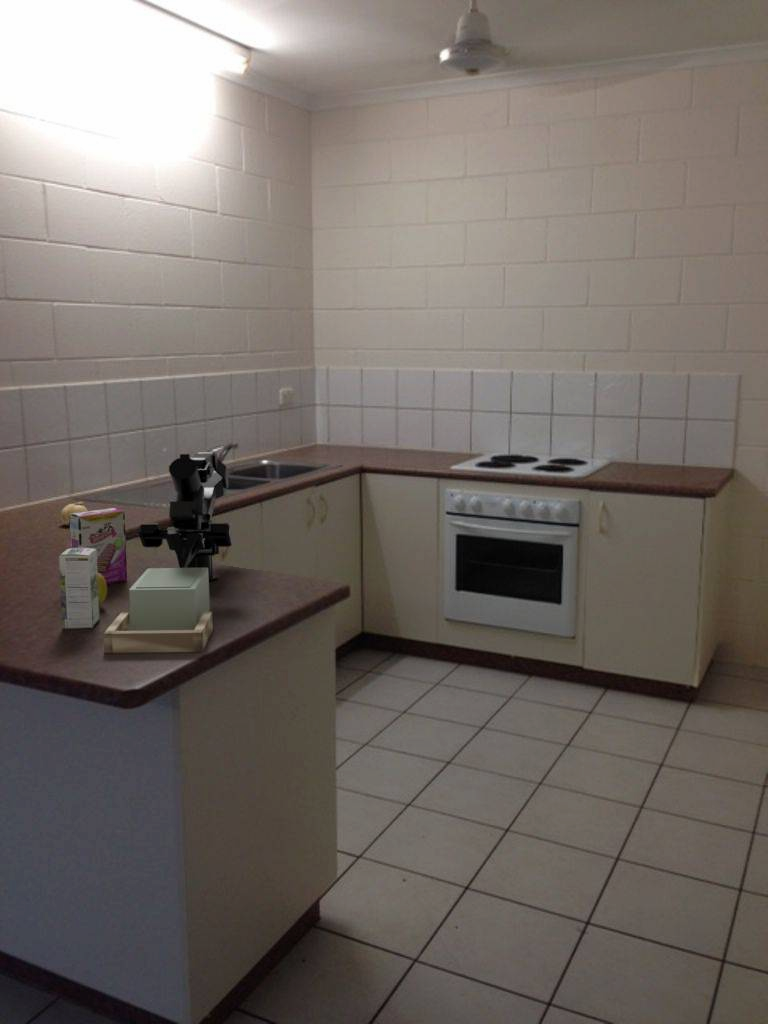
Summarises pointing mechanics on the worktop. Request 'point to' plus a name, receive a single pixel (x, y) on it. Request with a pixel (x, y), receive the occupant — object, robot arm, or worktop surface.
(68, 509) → the onion
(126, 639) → the wooden tray
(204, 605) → the tub
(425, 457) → the worktop surface
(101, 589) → the lemon
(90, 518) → the candy bar box
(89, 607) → the syrup box
